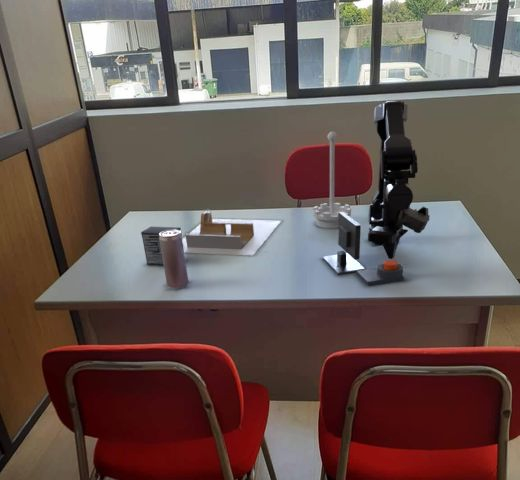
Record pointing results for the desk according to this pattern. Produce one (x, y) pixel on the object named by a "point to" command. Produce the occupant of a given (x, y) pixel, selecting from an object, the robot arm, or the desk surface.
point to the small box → (154, 244)
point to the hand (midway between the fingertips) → (390, 258)
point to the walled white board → (227, 235)
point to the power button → (390, 265)
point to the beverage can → (173, 258)
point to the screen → (349, 235)
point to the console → (380, 275)
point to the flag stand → (330, 214)
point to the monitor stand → (343, 263)
